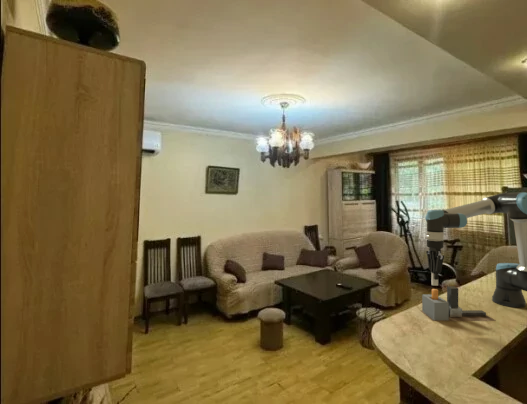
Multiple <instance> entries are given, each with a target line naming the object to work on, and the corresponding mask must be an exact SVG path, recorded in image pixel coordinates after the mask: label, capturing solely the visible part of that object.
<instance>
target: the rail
mask: <svg viewBox="0 0 527 404" xmlns="http://www.w3.org/2000/svg"><path fill="white" fill-rule="evenodd" d="M486 315H487V312H485V311H484V310H480V309H479V310H478V309H477V310H476V309H475V310H467V309H466V310H465V309H464V310H463V309H462V317H486Z"/></svg>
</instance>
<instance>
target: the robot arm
mask: <svg viewBox="0 0 527 404" xmlns="http://www.w3.org/2000/svg"><path fill="white" fill-rule="evenodd" d="M485 214H487V215H491V214H507V215H508V217H509V220H511V221H512V222H513V226H514V227H513V228H514V235H515V241H516V248H517V249H516V250H517V257H518V262H519V263H516V262H515V263H514V262H499V263H497V264H496V268H495V289H494V291H493V294H492V297H491V298H492V299H491V300H492V302H494V303H496V304H497V305H502V306H505V307H511V308H525V307H526V306H527V303H526V298H525V297H524V293H523V291H525V292H527V192H525V191H523V192H503V193H496V194H494V195H491V196H487V197H483V198H482V199H480V200H478V201H475V202H474V201H473V202H470V203H467V204H462V205H458V206H454V207H451V208H446V209H444V210H443V209H429V210H427V211H426V215H425V221H426V248H428V250H426V251H425V252H426V253H425V254H426V257H427V258H426V259H427V264H428V266H427V267H428V270H430V273H431V275H430V276H431V277H430V278H431V280H430V281H431V286H436V287H437V286H439V274H442V270H443V263H444V259H445V255H443V254H442V249H443V248H444V239H445V237H444V230H445V229H461V228H465V227H466V226H467V225H468V218H473V217H476V216H481V215H485ZM524 306H525V307H524Z"/></svg>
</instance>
